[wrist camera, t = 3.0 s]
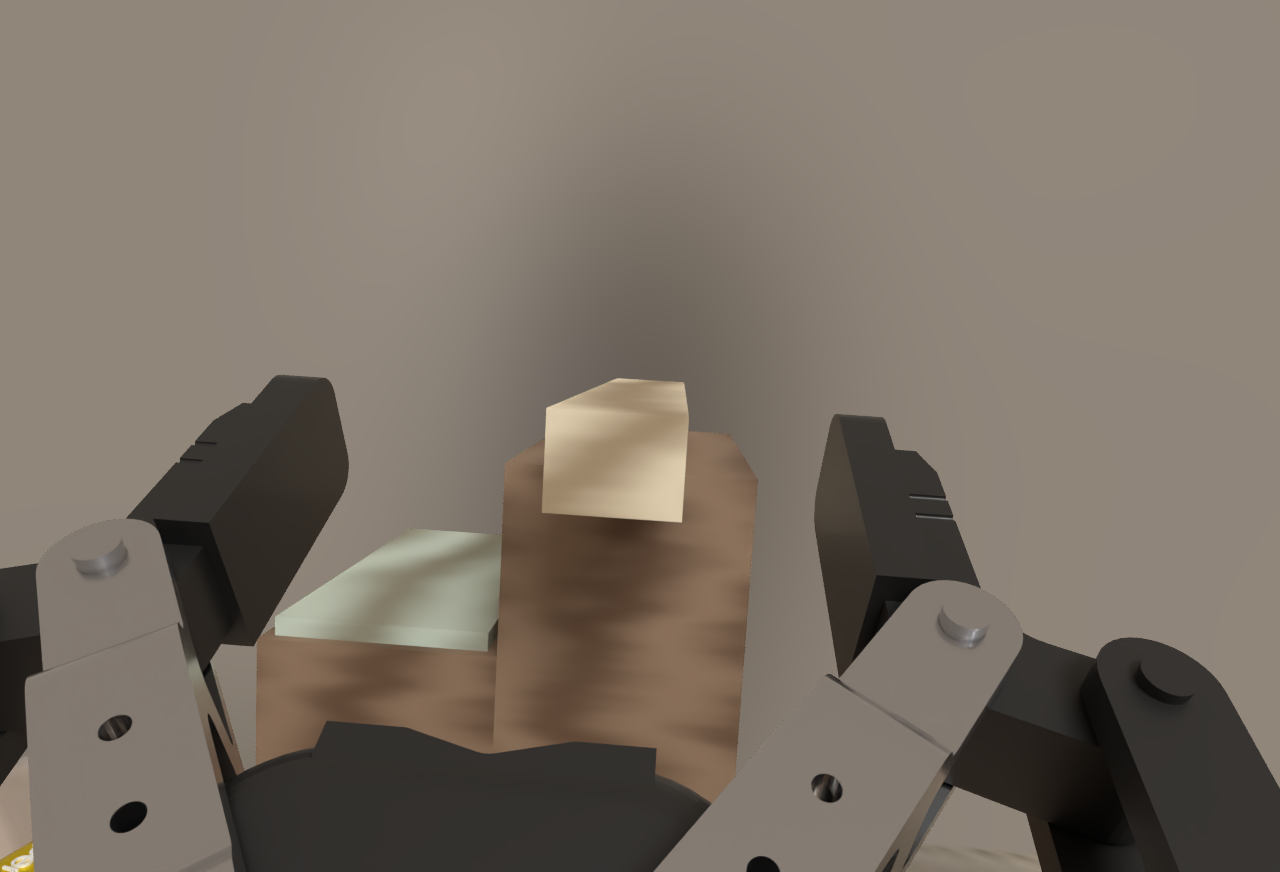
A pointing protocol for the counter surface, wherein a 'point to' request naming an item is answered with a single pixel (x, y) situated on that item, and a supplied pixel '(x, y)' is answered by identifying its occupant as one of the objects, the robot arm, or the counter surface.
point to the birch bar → (618, 452)
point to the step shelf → (536, 630)
